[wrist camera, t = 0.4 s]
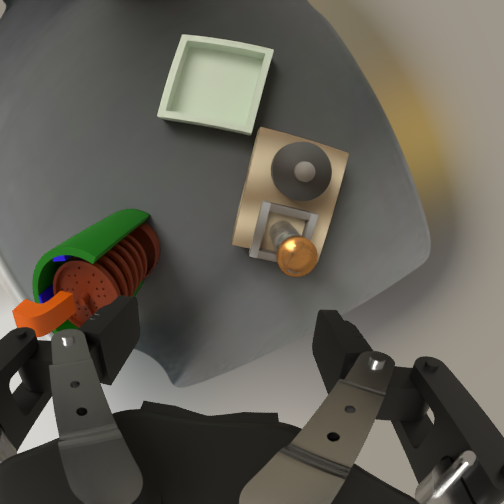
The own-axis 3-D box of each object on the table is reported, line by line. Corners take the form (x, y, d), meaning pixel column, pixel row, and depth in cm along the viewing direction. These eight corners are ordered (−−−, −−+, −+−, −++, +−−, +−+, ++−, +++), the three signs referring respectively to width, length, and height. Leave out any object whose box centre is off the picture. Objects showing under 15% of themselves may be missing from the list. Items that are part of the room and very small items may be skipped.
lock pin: (271, 214, 30) (283, 233, 22) (301, 221, 30) (322, 242, 23) (263, 244, 31) (272, 272, 23) (292, 250, 31) (310, 280, 24)
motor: (165, 282, 36) (114, 392, 17) (107, 284, 35) (33, 376, 17) (155, 206, 33) (69, 266, 14) (93, 212, 32) (-12, 269, 13)
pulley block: (257, 130, 30) (263, 123, 24) (336, 153, 32) (359, 153, 25) (231, 238, 35) (231, 257, 28) (307, 255, 36) (323, 276, 29)
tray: (186, 43, 26) (182, 34, 23) (270, 57, 27) (274, 49, 25) (163, 119, 29) (157, 116, 27) (250, 135, 31) (251, 133, 28)
